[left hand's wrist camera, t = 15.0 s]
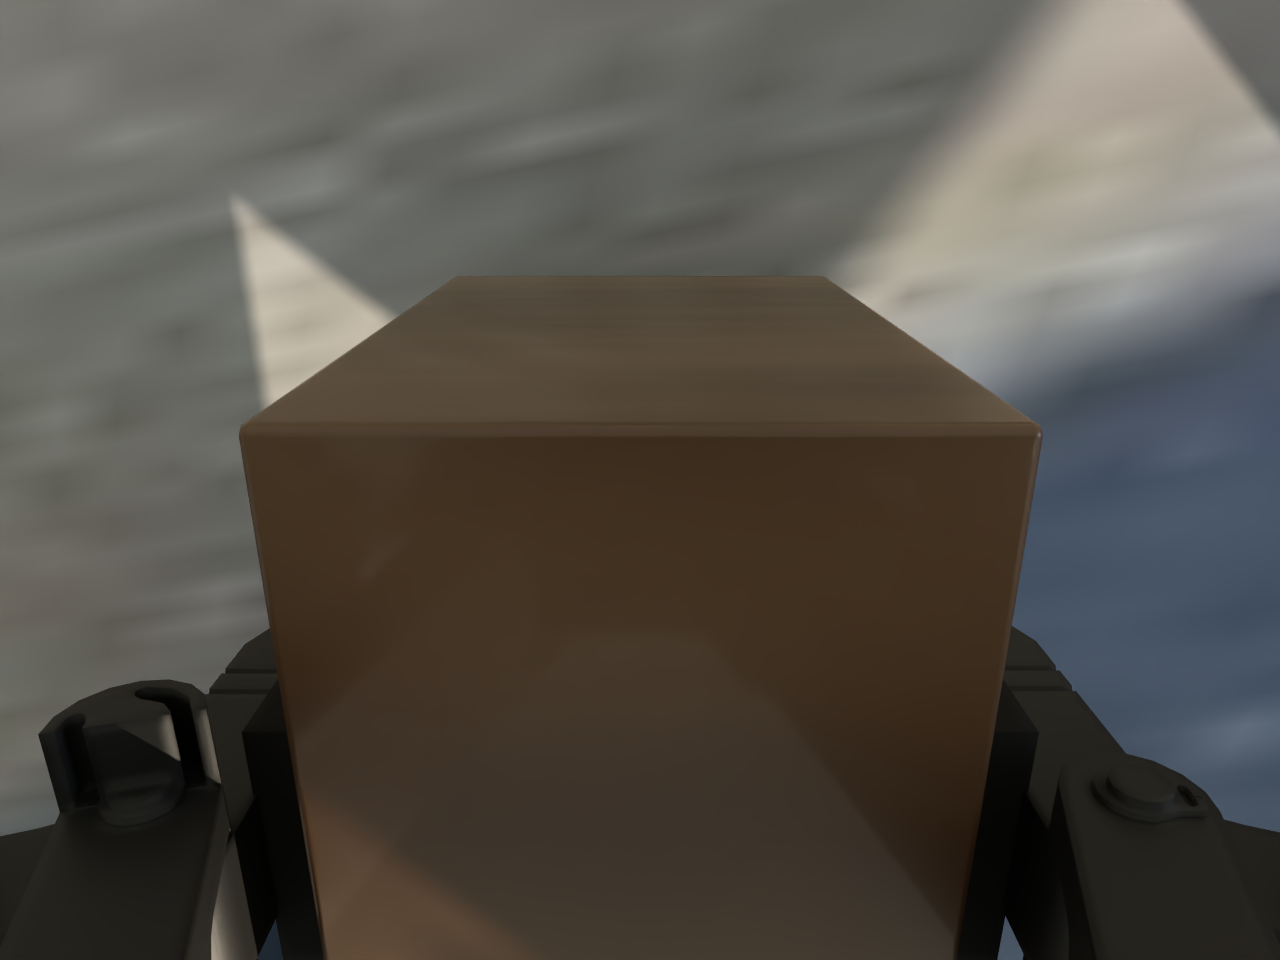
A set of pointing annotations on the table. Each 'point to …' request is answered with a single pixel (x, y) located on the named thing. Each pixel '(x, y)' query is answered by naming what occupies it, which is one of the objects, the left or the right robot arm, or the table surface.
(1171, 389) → the table surface
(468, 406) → the bar
